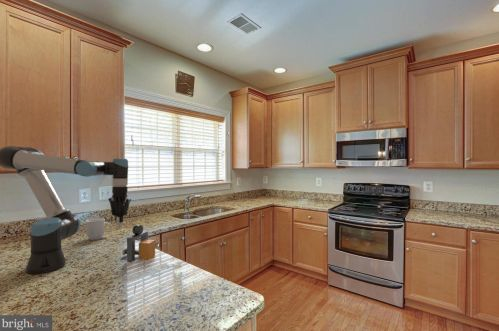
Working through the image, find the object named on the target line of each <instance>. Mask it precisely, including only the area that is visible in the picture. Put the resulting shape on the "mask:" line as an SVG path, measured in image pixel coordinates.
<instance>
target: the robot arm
mask: <svg viewBox="0 0 499 331" xmlns="http://www.w3.org/2000/svg"><path fill="white" fill-rule="evenodd" d="M0 167H1V168H4V169H7V170H16V172H17V174H18V176H20V177H24V179H25V181H26V182H27V185H28V186H29V188H30V190H31V191H32V193H33V195H34V197H35V198H36V200H37V202H38V204H39V205H40V207H41V210H42V211H43V212H44V214H45V216H46V217H45V218H43V219H38V220H36V221H34V222H33V223H32V224H31V226H30V255H29V257H28V258H29V259H28V261H27V264H26V265H25V273H26V274H29V275H38V274H40V275H41V274H45V273H46V274H47V273H50V272H54V271H56V270H57V271H58V270H60V269H61V268H63V267H65V266H66V264H67V263H66V262H67V261H66V257H65V255H64V252H63V250H62V241H63V240H66V239H68V238H71V237H72V236H74V235H75V234H76V233H78V232H79V230H80V228H81V225H82V222H81V219H80V217H79V216H77V215H75V214H72V212H71V210H70V209H68V208H65V206H64V204H63V203H62V201H61V199H60V196H59V195H58V193H57V192H56V190H55V188H54V186H53V185H52V183H51V181H50V179H49V177H48V176H47V174H46V172H54V173H62V174H63V173H64V174H70V175H71V174H72V175H78V176H80V177H94V176H95V177H96V176H112V187H111V188H112V196H111V197H109V198H108V202H109V205H110V210H111V215H112V216H114V217H115V218H114V219H115V223H116V224H115V226H116V229H117V230H118V229H122V228H123V222H124V217H125V216H127V215H128V211H129V210H128V209H129V207H130V203H131V201H132V198H129V197H128V194H127V193H128V189H129V188H128V184H129V183H128V182H129V180H128V178H129V160H128V159H127V158H116V157H115V158H113V161H99V160H95V161H94V160H93V161H92V160H86V159H85V160H84V159H83V160H82V159H76V158H70V157H69V158H68V157H61V156H54V155H48V154H45V153H43V152H42V151H41V150H39V149H37V148H34V147H29V146H28V147H27V146H26V147H25V146H24V147H23V146H16V145H15V146H14V145H11V146H10V145H7V146H4V147H1V148H0ZM45 171H46V172H45Z"/></svg>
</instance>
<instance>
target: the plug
mask: <svg viewBox="0 0 499 331" xmlns="http://www.w3.org/2000/svg"><path fill="white" fill-rule="evenodd" d="M126 255H127V247H125V248H124V249H122V256H126ZM135 256H138V260H139V259H144V260H143V261H150V260H151V258H152V259H153V258H155V257H156V239H148V240H147V239H145V240H143V241H141V240H140V241H139V242H138V249H135ZM154 256H155V257H154ZM149 259H150V260H149Z"/></svg>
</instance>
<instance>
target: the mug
mask: <svg viewBox="0 0 499 331" xmlns="http://www.w3.org/2000/svg"><path fill="white" fill-rule="evenodd" d="M106 225H108V226H109V230H108V231H107V232H105V229H106ZM85 229H86V230H85V232H86V236H87V238H88V239H89V241H98V240H102V238H103V237H104V236H105V235H107V234H109V233H110V232H111V231H112V225H111V223H110V222H107V221H106V219H105V218H103V217H101V218H99V217H98V218H90V219H87V220H86V221H85Z"/></svg>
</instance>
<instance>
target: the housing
mask: <svg viewBox="0 0 499 331" xmlns="http://www.w3.org/2000/svg"><path fill="white" fill-rule="evenodd" d="M137 239H140V242H141V241H143V240H145V239H147V240H149V231H148V230H144V227H143V225H142V224H135V225H134V226H133V227H132V235H130V236H128V237H127V238H126V248H127V254H126V262H128V263H133V262H135V261H136V255H135V250H136V240H137ZM132 261H133V262H132Z"/></svg>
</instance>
